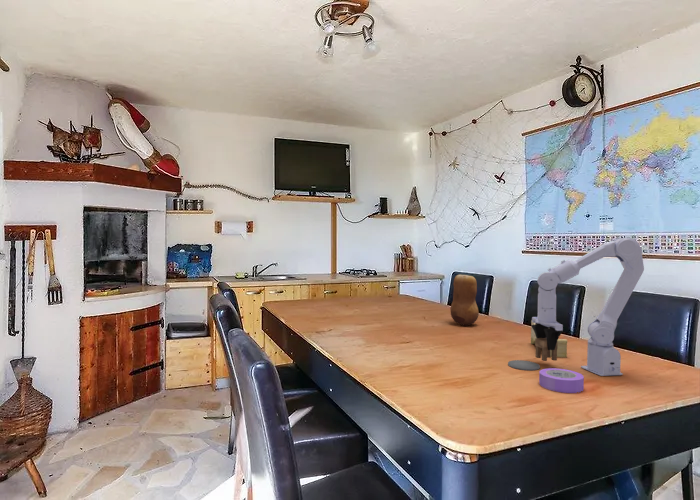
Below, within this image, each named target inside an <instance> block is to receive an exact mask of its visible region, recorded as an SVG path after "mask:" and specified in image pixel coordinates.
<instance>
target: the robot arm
mask: <svg viewBox="0 0 700 500" xmlns="http://www.w3.org/2000/svg"><path fill="white" fill-rule="evenodd" d="M615 257H616V258H617V259H618V260H619V262H620V263H621V266H622V267H623V271H622V272H621V275H620V276H619V278H618V280H617V282H616V284H615V286H614V288H613V289H612V291H611V293H610V295H609V297H608V299H607V300H606V302H605V305H604V306H603V309H602V310H601V312H600V313H599V314H598V315H597V316H596V319H594V320H593V321H592V322H590V323H589V325H588V326H587V333H588V335H589V336H590V338H589V339H588V340H587V356H586V357H587V359H586V360H587V361H586V365H580V368H581V369H584V370H586V371H588V372H591V373H593V374H595V375H598V376H601V377H603V376H606V377H607V376H622V375H623V374H624V373H622V372H621V362H622V361H621V360H622V359H621V353H620V351H619V350H618V349H617V348H616V347H614V342H613V341H614V339H615V331H616V328H617V325H618V319H619V317H620V316H621V314H622V312H623V310H624V308H625V307H626V305H627V303H628V301H629V300H630V299H629V298H630V297H631V295H632V294H633V291H634V290H635V289H636V286H637V285H638V283H639V281H640V279H641V277H642V275H643V273H644V270H645V267H644V266H645V265H644V260H643V258H644V257H643V249H642V247H641V245H640V243H639V242H638V241H637V240H636V239H634V238H632V237H619V238H615V239H614V240H613V241H609V242H606V243H604V244H601V245H599V246H598V247H596V248H594V249H592V250H591V251H589V252H588V253H586V254H584V255H582V256H580V257H579V258H577V259H575V260H573V259H567V260H565V259H563V260H561V261H560V263H559V264H558V265H556V266H554V267H552V268H551V267H549V268H548V269H547V271H544V272H542V273H540V274H539V276H538V277H537V281H536V282H537V284H538V289H537V291H538V293H537V316H532V317H531V320H532V323H536V324H535V325H532V326H531V328H533V330H534V332H535V335H536V338H547V347H548V350H555V347H556V343H557V340H558V339H560V336H561V335H562V333H563V330H564V328H563V327H564V325H563V324H561V323H560V322H558V321H557V294H556V291H557V289H556V288H557V286H558V284H564V283H565V282H567V281H568V280H571V279H572V278H574V277H576V276H578V275H579V274H580V270H582V269H583V268H585V267H587V266H588V265H592V264H593V263H595V262H597V261H599V260H602V259H603V258H615Z"/></svg>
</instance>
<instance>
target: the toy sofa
mask: <svg viewBox="0 0 700 500" xmlns="http://www.w3.org/2000/svg"><path fill="white" fill-rule="evenodd" d="M530 323H531V327H530V344H531V345H535V338H536V335H535V332H534V330H533V328H532V325H535V324H536V323H532V319H531V320H530ZM557 341H558V349H557V358H567V357H568V356H567V355H568V353H567V352H568V349H567V348H568V339H566V338H565V339H563V338H558V340H557ZM551 354H552V350H551V351H550V358H551Z"/></svg>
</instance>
